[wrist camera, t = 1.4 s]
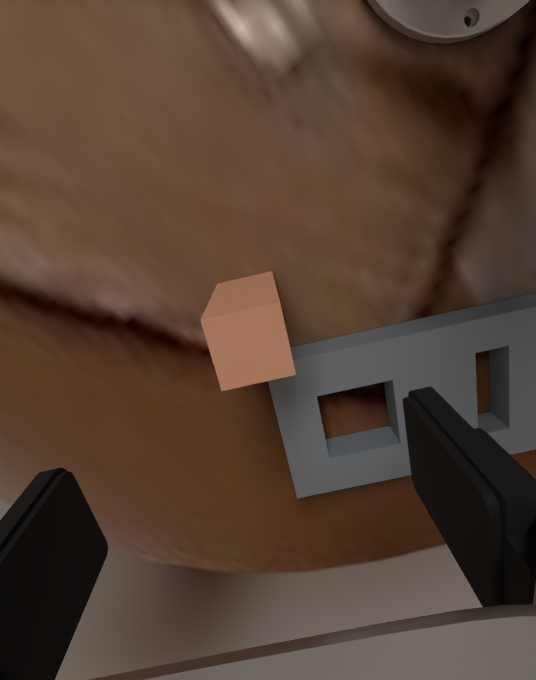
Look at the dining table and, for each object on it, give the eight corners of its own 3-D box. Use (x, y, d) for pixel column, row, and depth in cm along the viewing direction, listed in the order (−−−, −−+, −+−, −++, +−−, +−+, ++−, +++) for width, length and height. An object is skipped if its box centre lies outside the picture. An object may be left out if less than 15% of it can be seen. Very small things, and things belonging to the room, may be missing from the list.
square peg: (217, 283, 27) (200, 320, 18) (271, 271, 27) (279, 302, 18) (231, 335, 28) (221, 391, 20) (283, 323, 28) (296, 374, 20)
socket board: (263, 353, 29) (264, 366, 26) (552, 289, 28) (580, 296, 25) (294, 477, 33) (297, 498, 30) (547, 424, 32) (570, 442, 30)
